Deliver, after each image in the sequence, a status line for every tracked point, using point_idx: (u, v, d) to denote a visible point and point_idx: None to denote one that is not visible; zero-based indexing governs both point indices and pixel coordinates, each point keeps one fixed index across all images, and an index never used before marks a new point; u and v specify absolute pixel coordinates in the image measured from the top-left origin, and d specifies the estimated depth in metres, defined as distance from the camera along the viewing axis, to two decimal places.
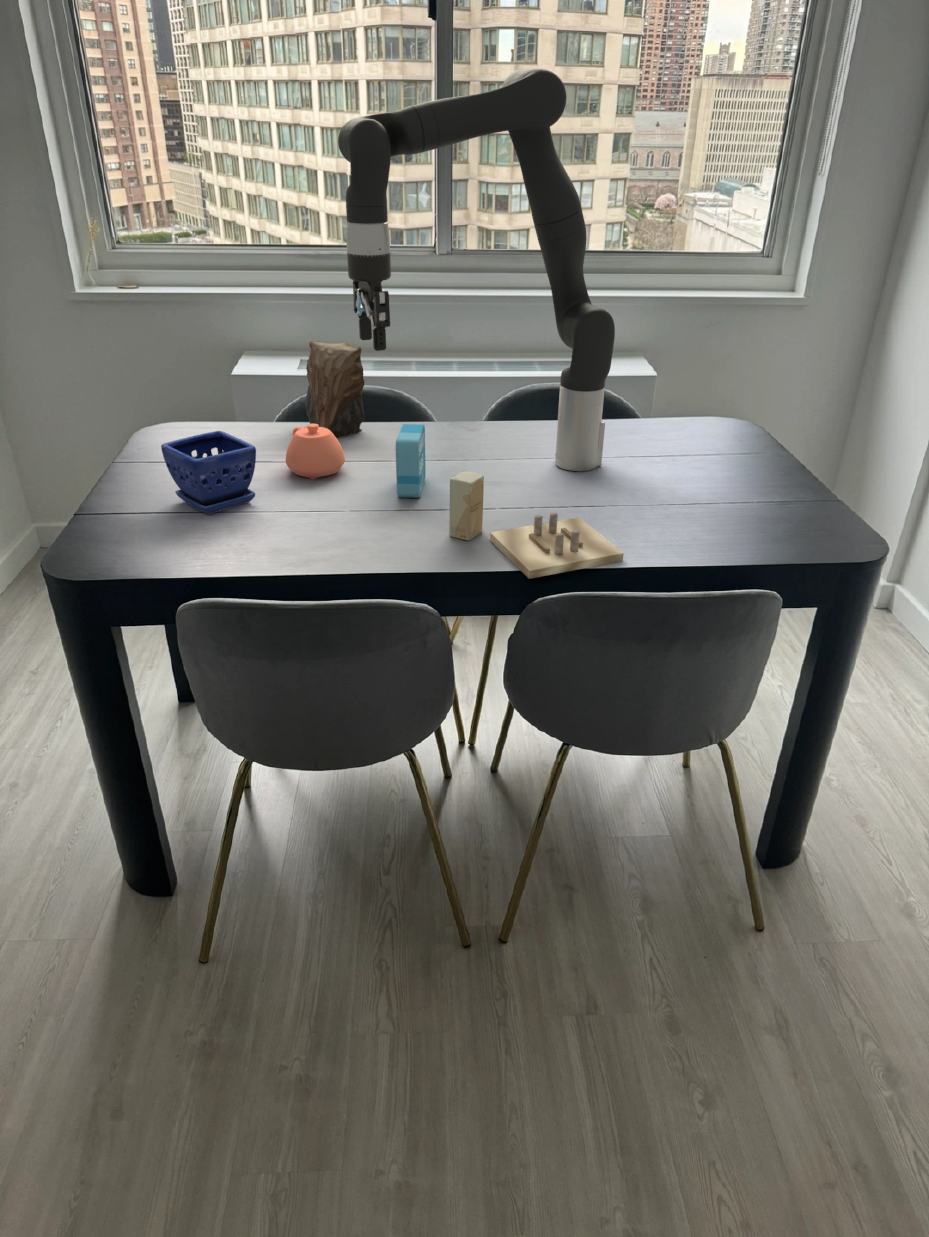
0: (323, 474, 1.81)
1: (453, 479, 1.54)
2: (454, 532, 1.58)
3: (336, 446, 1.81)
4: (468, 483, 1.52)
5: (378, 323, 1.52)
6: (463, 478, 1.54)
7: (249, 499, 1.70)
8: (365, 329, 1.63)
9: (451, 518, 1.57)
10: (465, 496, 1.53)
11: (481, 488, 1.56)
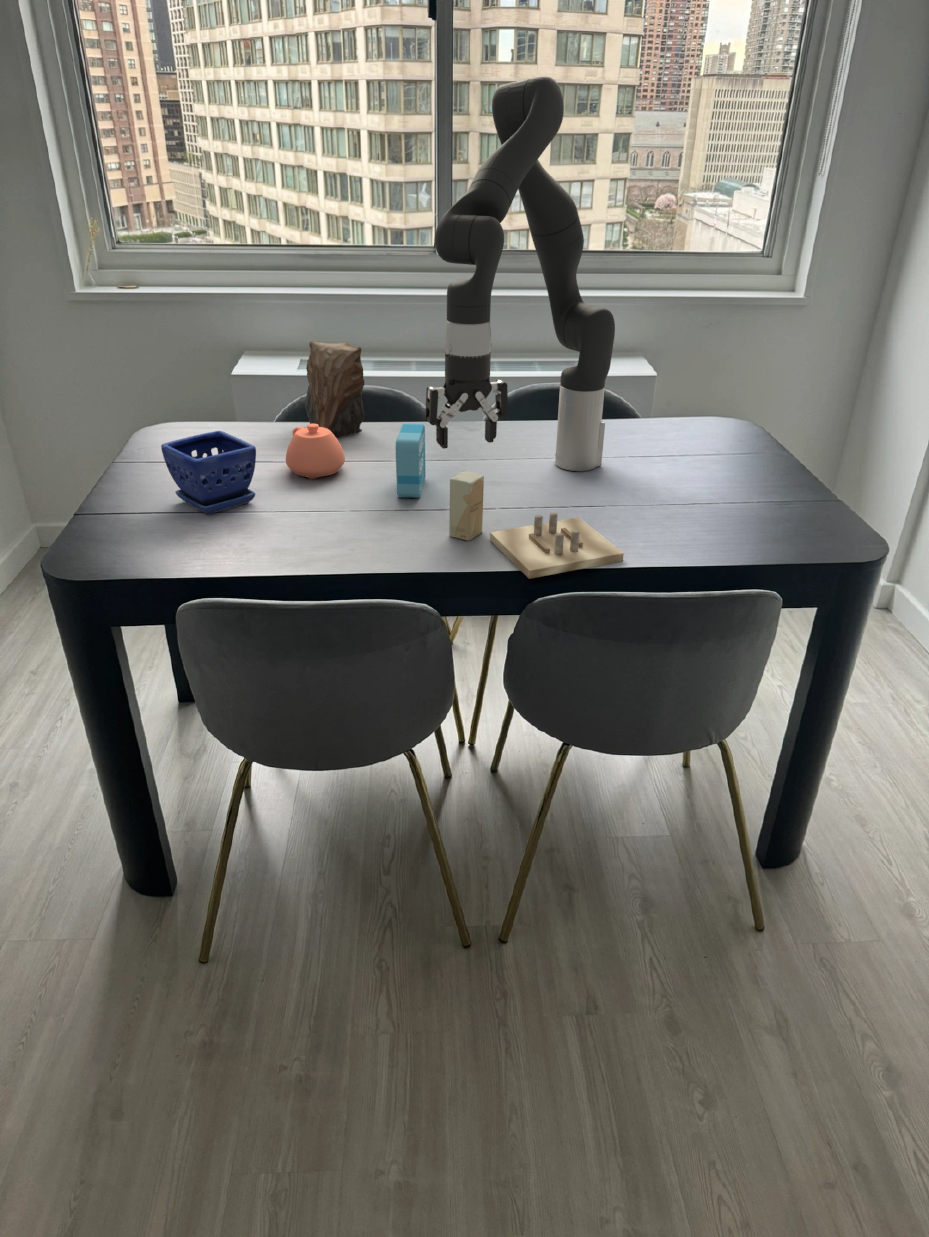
0: (323, 474, 1.81)
1: (453, 479, 1.54)
2: (454, 532, 1.58)
3: (336, 446, 1.81)
4: (468, 483, 1.52)
5: None
6: (463, 478, 1.54)
7: (249, 499, 1.70)
8: None
9: (451, 518, 1.57)
10: (465, 496, 1.53)
11: (481, 488, 1.56)
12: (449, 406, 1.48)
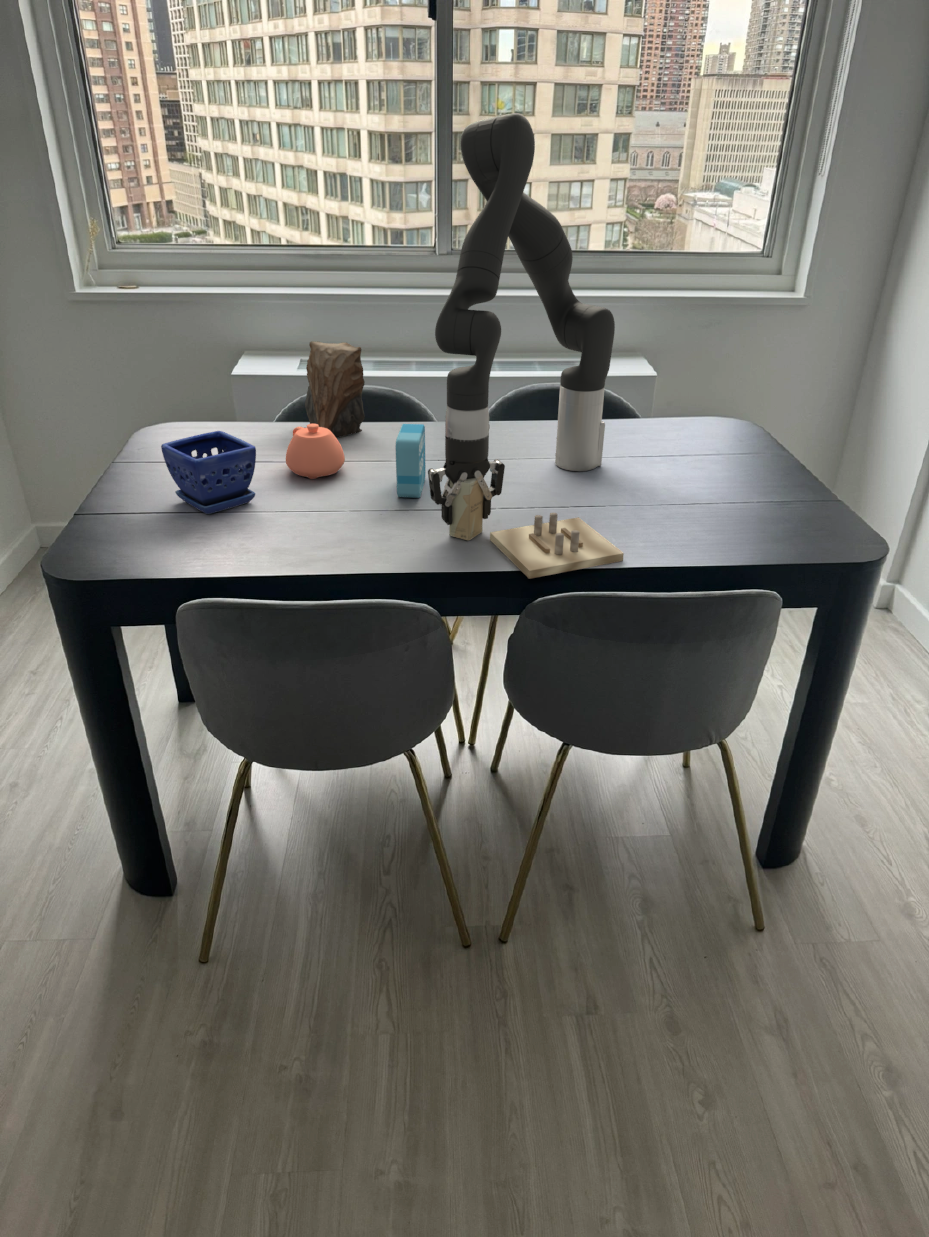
0: (323, 474, 1.81)
1: None
2: (454, 532, 1.58)
3: (336, 446, 1.81)
4: (468, 483, 1.52)
5: None
6: None
7: (249, 499, 1.70)
8: None
9: None
10: (465, 496, 1.53)
11: None
12: None
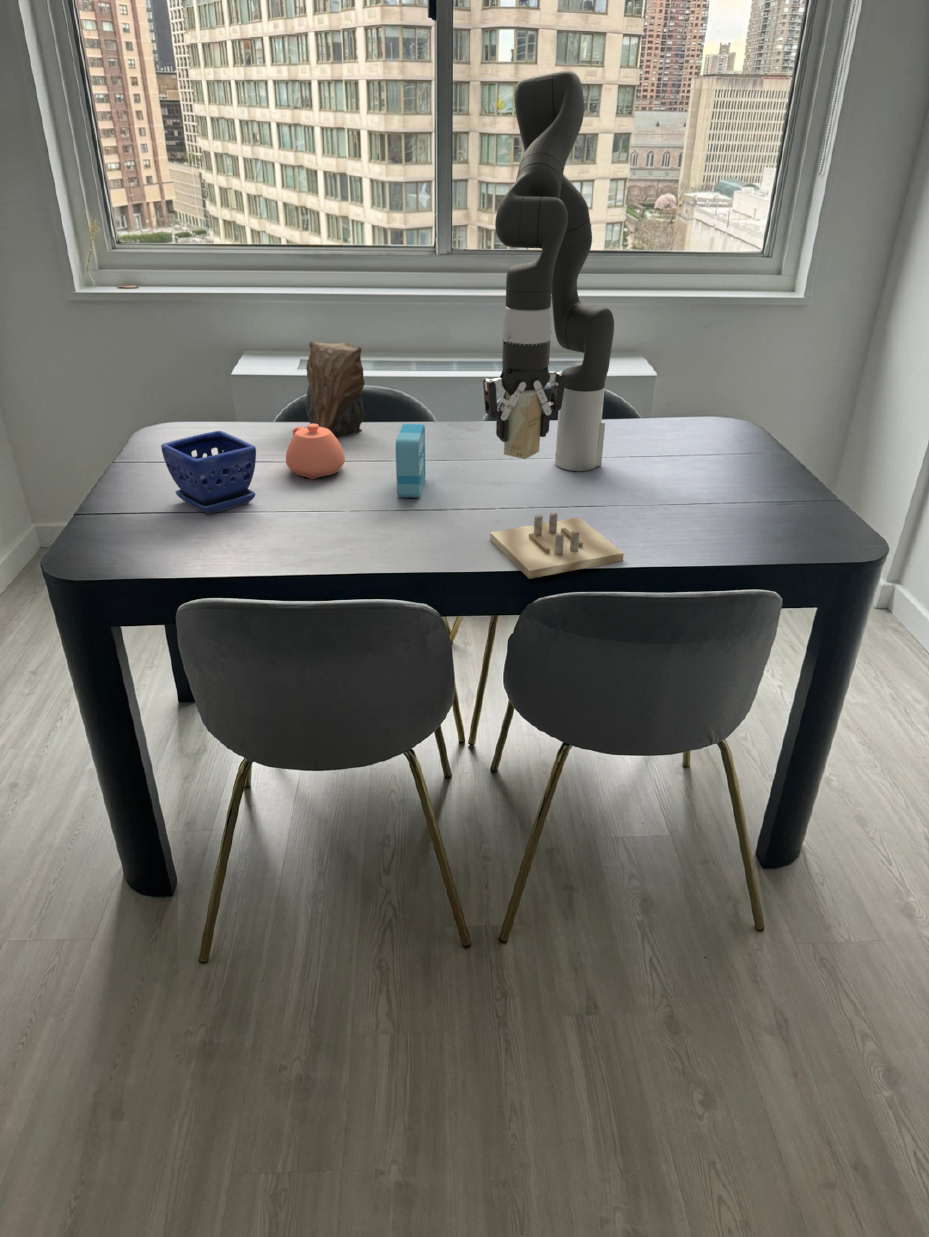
0: (323, 474, 1.81)
1: None
2: (509, 450, 1.46)
3: (336, 446, 1.81)
4: (526, 394, 1.40)
5: None
6: None
7: (249, 499, 1.70)
8: None
9: None
10: (523, 409, 1.42)
11: None
12: None
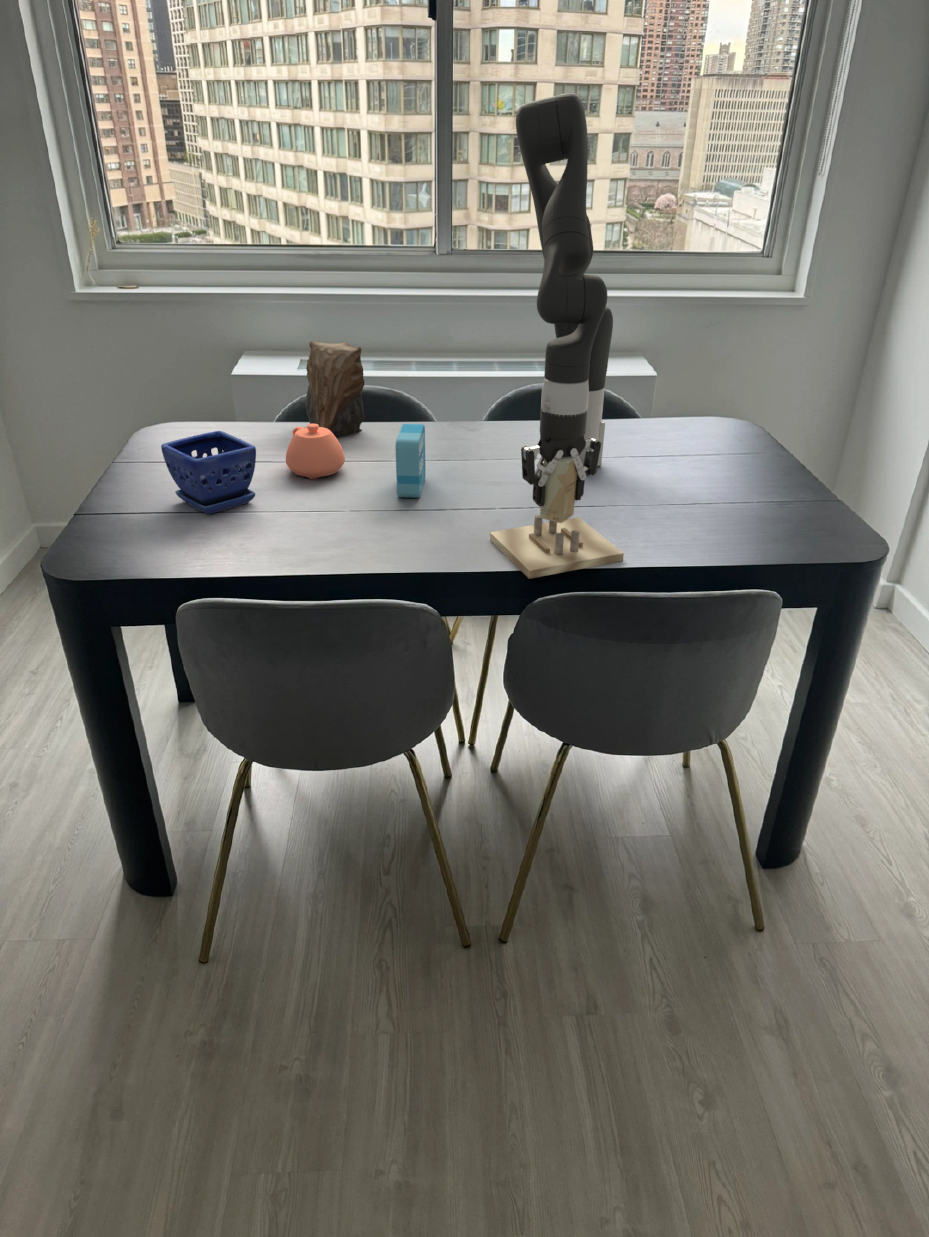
0: (323, 474, 1.81)
1: None
2: (545, 514, 1.49)
3: (336, 446, 1.81)
4: (564, 462, 1.43)
5: None
6: None
7: (249, 499, 1.70)
8: None
9: None
10: (560, 476, 1.45)
11: None
12: None
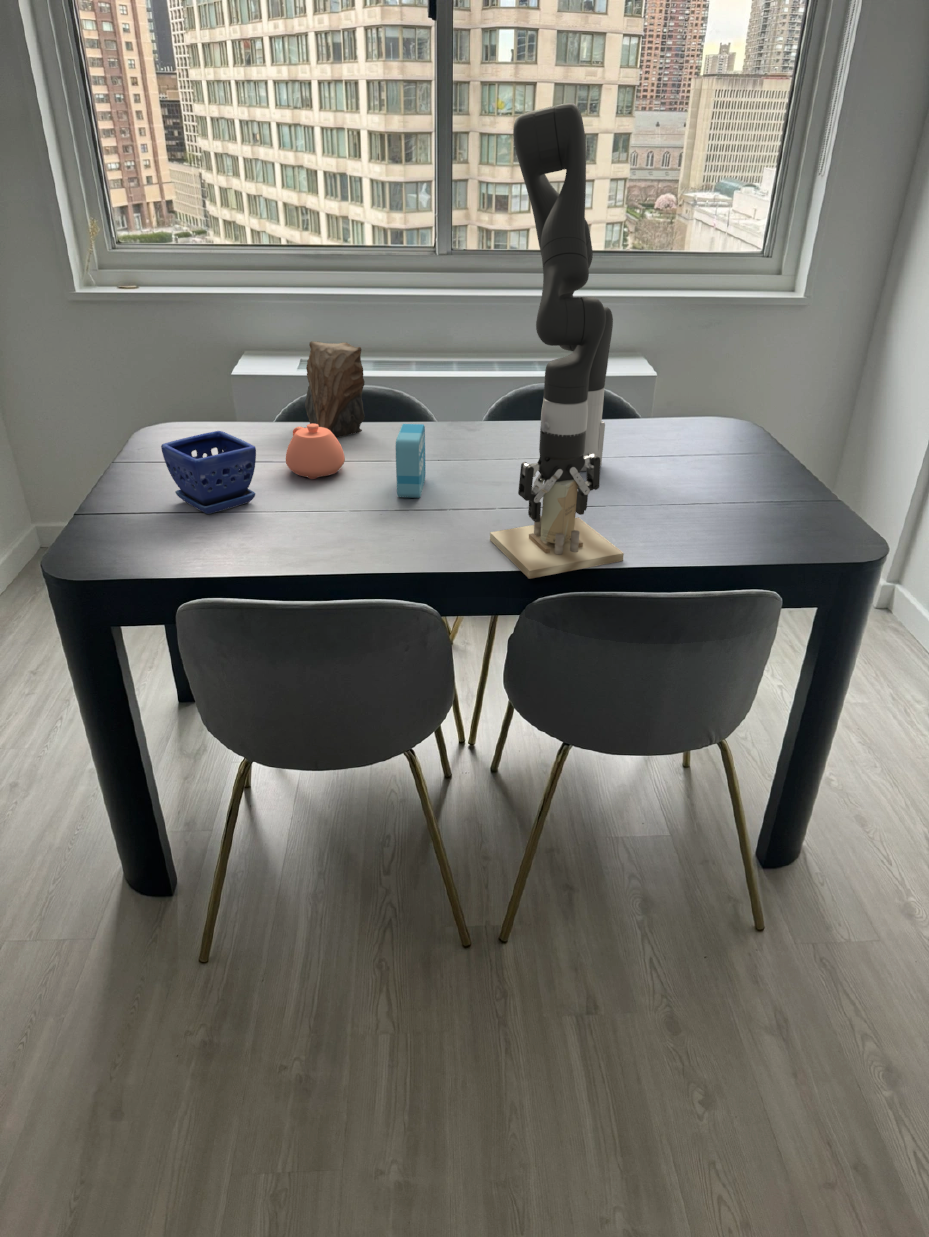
0: (323, 474, 1.81)
1: None
2: (546, 536, 1.52)
3: (336, 446, 1.81)
4: (564, 485, 1.46)
5: None
6: None
7: (249, 499, 1.70)
8: None
9: (543, 521, 1.51)
10: (560, 499, 1.47)
11: (575, 490, 1.49)
12: (542, 480, 1.48)
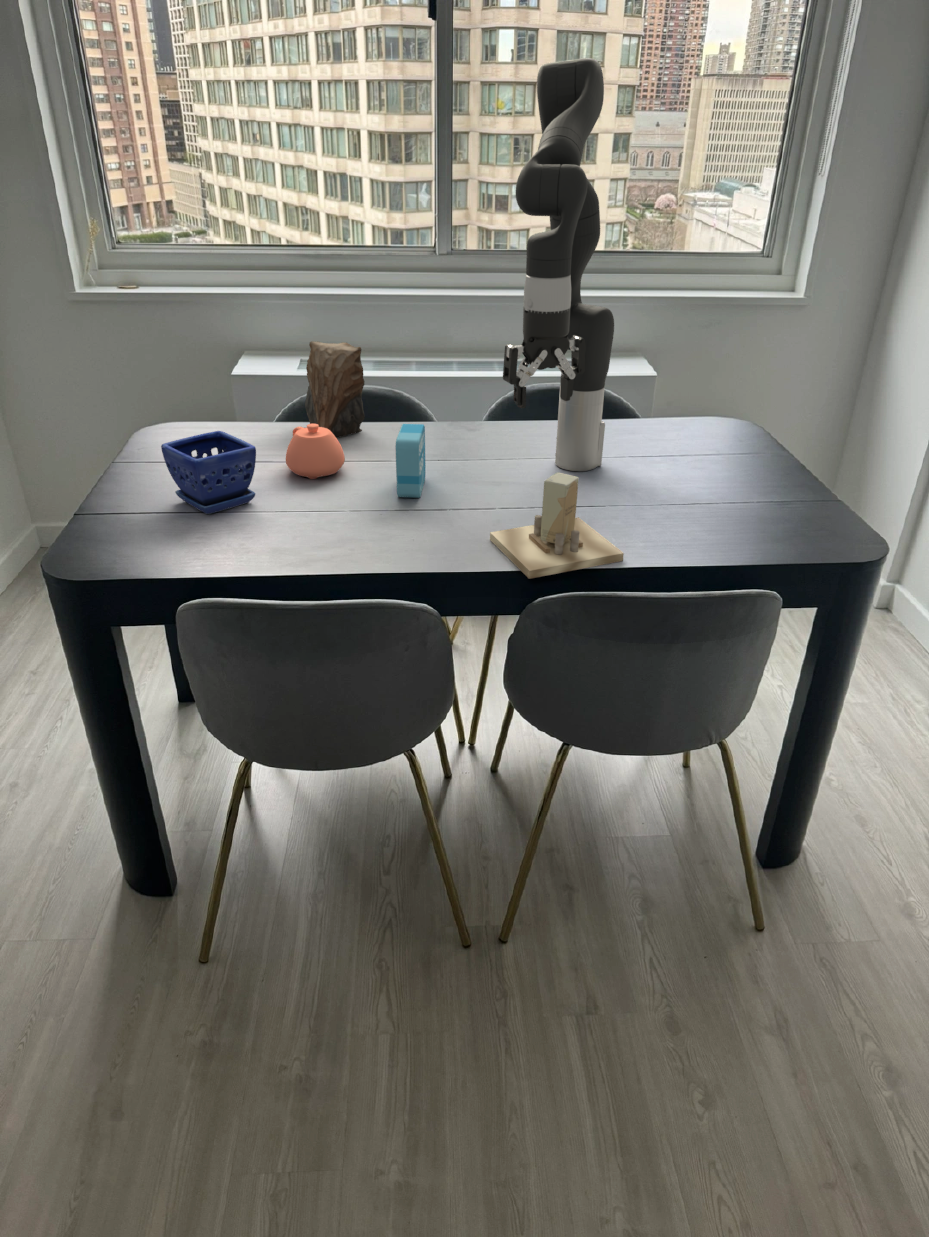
0: (323, 474, 1.81)
1: (548, 481, 1.47)
2: (546, 536, 1.52)
3: (336, 446, 1.81)
4: (564, 485, 1.46)
5: None
6: (558, 480, 1.47)
7: (249, 499, 1.70)
8: None
9: (543, 521, 1.51)
10: (560, 499, 1.47)
11: (575, 490, 1.49)
12: (526, 364, 1.45)
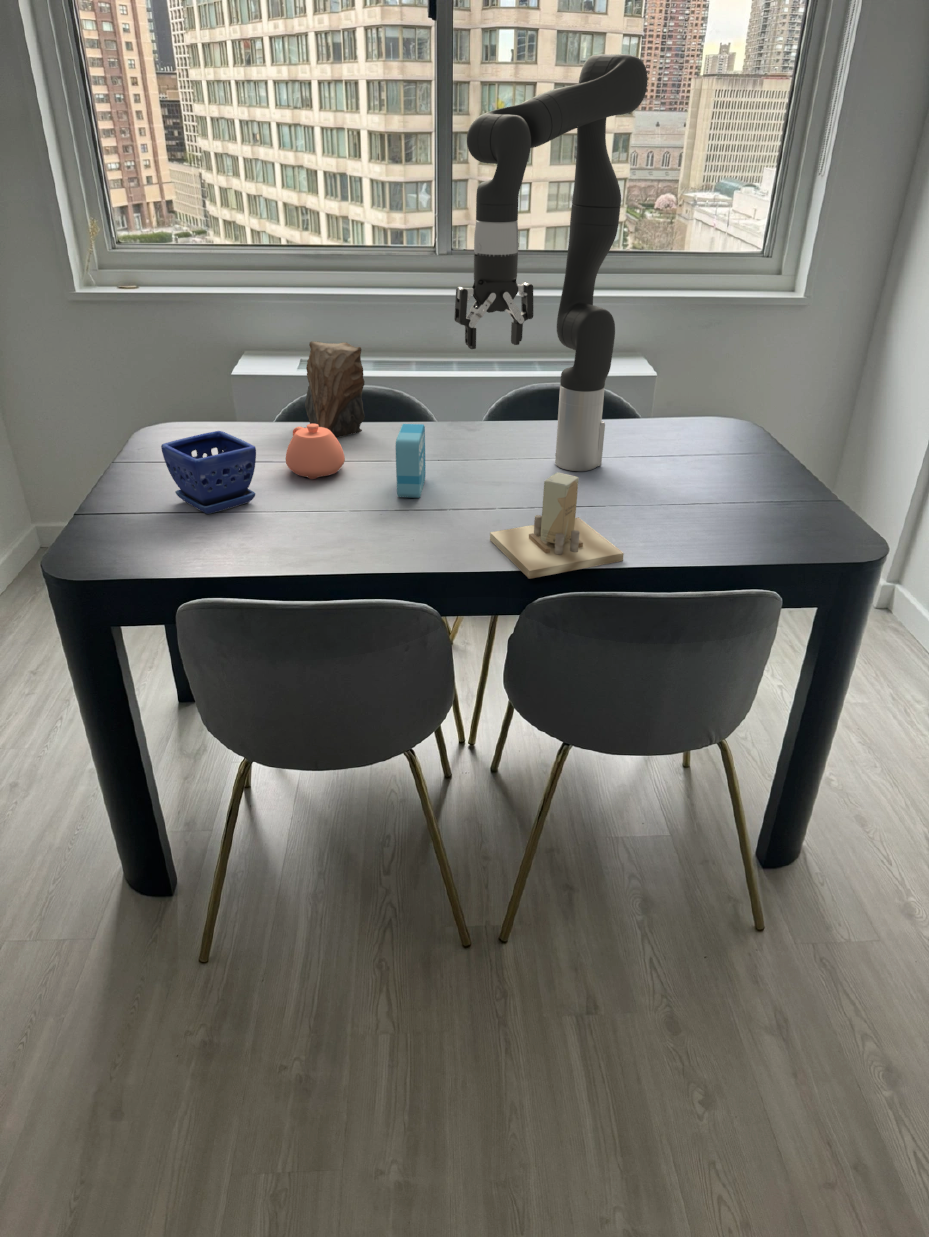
0: (323, 474, 1.81)
1: (548, 481, 1.47)
2: (546, 536, 1.52)
3: (336, 446, 1.81)
4: (564, 485, 1.46)
5: (532, 314, 1.57)
6: (558, 480, 1.47)
7: (249, 499, 1.70)
8: None
9: (543, 521, 1.51)
10: (560, 499, 1.47)
11: (575, 490, 1.49)
12: (477, 308, 1.54)
